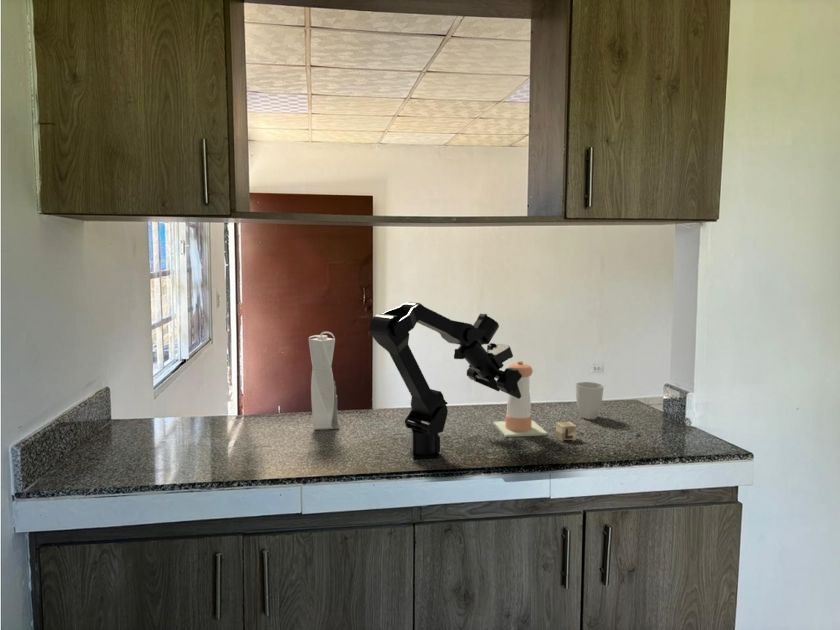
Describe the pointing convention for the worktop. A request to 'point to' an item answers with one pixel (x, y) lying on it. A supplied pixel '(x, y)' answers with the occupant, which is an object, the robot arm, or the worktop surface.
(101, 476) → the worktop surface
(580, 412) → the cup
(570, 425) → the letter cube
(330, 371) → the skyscraper
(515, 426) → the pepper shaker
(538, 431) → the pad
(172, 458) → the worktop surface
